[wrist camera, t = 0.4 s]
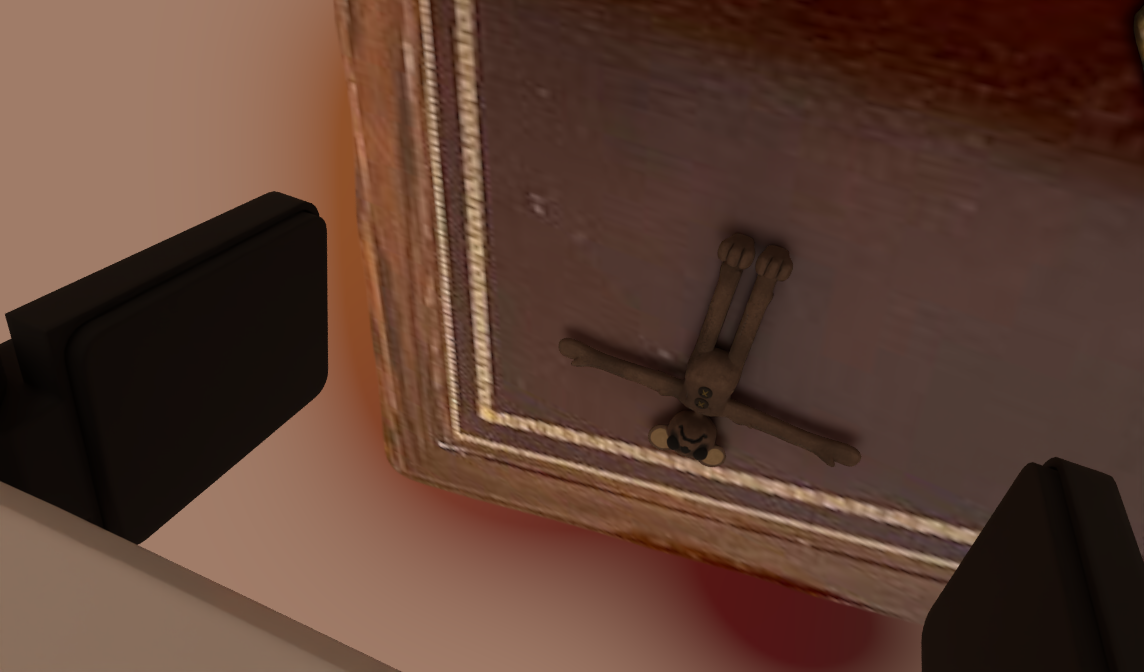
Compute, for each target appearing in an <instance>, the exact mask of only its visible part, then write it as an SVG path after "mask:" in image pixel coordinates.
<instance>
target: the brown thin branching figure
mask: <svg viewBox="0 0 1144 672" xmlns="http://www.w3.org/2000/svg"><path fill="white" fill-rule="evenodd" d="M754 244H755V243H754V240H753V239H752V238H751V237H749V236H746V235H743V234H739V233H735V234H734V235H732V236H731V237H729V238H727V239H725V240H724V241H722V242H721V244H720V246H719V249H718V258H719V259H720V260H721V261H723V263H722V265H721V269H720V277H719V281H718V284H717V287H716V290H715V293H714V296H713V298H712V301H711V303H710V306H709V310H708V313H707V316H706V318H705V321H704V324H703V327H702V330H701V333H700V335H699V338H698V341H697V344H696V347H695V349H694V351H693V353H692V355H691V357H690V359H689V362H688V366H687V370H686V372H685V380H681V379H678V378H676V377H673V376H671V375H668V374H666V373H664V372H662V371H659V370H658V371H657V370H653V369H649V368H646V367H643V366H640V365H637V364H634V363H631V362H628V361H625V360H621V359H618V358H616V357H613V356H610V355H607V354H605V353H602V352H600V351H598V350H596V349H594V348H592V347H590V346H588V345H586V344H584V343H582V342H579V341H577V340H575V339H571V338H564V339H562V340H561V341H560V342H559V351H560V353H561V354H562V355H564V356H566V357H569V358H571V359H574V361H573V362H572V363H571V364H572V365H573V366H587V367H595V368H598V369H602V370H605V371H607V372H610V373H613V374H615V375H618V376H620V377H622V378H625V379H627V380H630V381H634V382H637V383H639V384H642V385H644V386H647V387H649V388H651V389H653V390H655V391H658V393H659V394H660V395H663V396H674V397H676V398H677V399H678V400H680V402H682V403H683V404H684V405H685V406H686V407H688V408H689V409H691V410H684V411H681V412H679V413H677V414H676V415H675V416H674V417H673V418H672V420H671V421H670V423H669V425H656V426H654V427H653V428H652V429H651V430H650V432H649V434H648V440H649V442H650V443H651V445H653V446H654V447H655V448H657V449H659V450H670V449H672V450H675V451H676V452H677V453H679V454H680V455H683V456H685V457H688V458H695V459H696V460H698V461H699V462H700V463H701V464H703V465H705V466H708V467H717V466H720V465H721V464H723V463H724V461H725V458H726V454H725V451H724V449H723V448H722V447H721V446H718V445H716V444H715V439H716V435H717V429H716V427H715V425H714V423H713V422H712V421H711V419H710V418H709V417H708V416H712V417H719V416H722V417H728V418H729V419H731V420H732V421H733V422H735V423H736V424H738V425H745V426H748V427H749V428H754V429H757V430H760V431H763V432H765V433H768V434H770V435H773V436H775V437H778V438H780V439H782V440H784V441H786V442H788V443H791V444H793V445H796V446H799V447H801V448H804V449H806V450H808V451H810V452H812V453H814V454H815V455H817V456H818V457H819V458H821V459H822V460H823V461H824V462H825V463H826V464H827V465H829V466H831V467H834V466H835V463H834V461H835V462H838V463H840V464H843V465H846V466H854V465H856V464H857V463H858V462H859V461H860V459H861V454H860V452H859V451H858V450H857V449H856V448H854V447H852V446H850V445H848V444H845V443H842V442H839V441H835V440H832V439H828V438H825V437H822V436H819V435H816V434H813V433H810V432H807V431H805V430H803V429H800V428H798V427H796V426H793V425H791V424H789V423H786V422H784V421H782V420H780V419H777V418H775V417H773V416H771V415H768V414H766V413H764V412H762V411H759V410H757V409H755V408H752V407H750V406H748V405H745V404H743V403H740V402H738V401H735V400H733V399H731V398H730V395H731V394H732V393H733V392H734V390H735V387H736V385H737V384H738V382H739V380H740V377H741V374H742V369H743V366H744V363H745V361H746V358H747V356H748V353H749V350H750V348H751V345H752V343H753V341H754V338H755V335H756V333H757V330H758V327H759V325H760V323H761V320H762V318H763V315H764V312H765V310H766V308H767V306H768V304H769V303H770V301H771V300H772V298H773V289H774V287H775V284H776V282H777V280H779V281H785V280H786V279H788V277H789V276H790V274H791V272H792V269H793V263H792V260H791V258H790V256H789V251H788V250H786V249H784V248H781V247H778V246H775V245H770V246H768V247H767V248H766V249H765V250H764V252H762V253H761V254H760V255H759V257H758V259H757V261H756V266H755V269H756V272H757V274H758V277H757V279H756V282H755V285H754V287H753V290H752V293H751V295H750V298H749V301H748V303H747V306H746V309H745V311H744V314H743V317H742V320H741V322H740V325H739V328H738V330H737V333H736V336H735V338H734V341H733V344H732V346H731V349H730V352H727V351H724V350H722V349H719V348H715V344H716V341H717V338H718V336H719V333H720V330H721V328H722V325H723V322H724V320H725V317H726V314H727V311H728V309H729V306H730V303H731V301H732V298H733V295H734V293H735V290H736V287H737V285H738V282H739V279H740V277H741V274H742V271H743V269H746V268H748V267H749V266H750V265H751V264H752V262H753V260H754V257H755V248H754Z"/></svg>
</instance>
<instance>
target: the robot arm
mask: <svg viewBox="0 0 1144 672" xmlns="http://www.w3.org/2000/svg"><path fill="white" fill-rule="evenodd" d="M5 316H6V320H7V323H8V327H9V331H10V334H11V338H12V339H10V340H8V341H6V342H3V343H2V344H0V672H401V671H399V670H397V669H395V668H393V667H391V666H388V665H386V664H384V663H382V662H380V661H378V660H376V659H374V658H372V657H370V656H368V655H366V654H364V653H362V652H359V651H357V650H355V649H353V648H351V647H349V646H347V645H345V644H343V643H341V642H339V641H337V640H335V639H332V638H330V637H328V636H326V635H324V634H322V633H320V632H318V631H316V630H314V629H312V628H310V627H308V626H306V625H303V624H301V623H299V622H297V621H295V620H293V619H291V618H289V617H287V616H285V615H283V614H281V613H278V612H276V611H274V610H272V609H270V608H268V607H266V606H264V605H262V604H260V603H258V602H256V601H254V600H252V599H249V598H247V597H245V596H243V595H241V594H239V593H237V592H235V591H233V590H231V589H229V588H226V587H224V586H222V585H220V584H218V583H216V582H214V581H212V580H210V579H207V578H205V577H203V576H201V575H199V574H197V573H195V572H193V571H191V570H189V569H186V568H184V567H182V566H180V565H178V564H176V563H174V562H172V561H169V560H168V559H165V558H163V557H161V556H159V555H157V554H155V553H153V552H151V551H149V550H146V549H144V548H142V547H140V546H138V544H140V543H142V542H143V541H145V540H146V539H147V538H149V537H150V536H151V535H152V534H153V533H154V532H156V531H157V530H158V529H159V528H160V527H162V526H163V525H164V524H165V523H166V522H168V521H169V520H170V519H171V518H172V517H174V516H175V515H176V514H177V513H178V512H179V511H181V510H182V509H183V508H184V507H185V506H187V505H188V504H189V503H190V502H191V501H192V500H194V499H195V498H196V497H197V496H198V495H200V494H201V493H202V492H203V491H204V490H206V489H207V488H208V487H209V486H210V485H212V484H213V483H214V482H215V481H216V480H218V479H219V478H220V477H221V476H222V475H223V474H225V473H226V472H227V471H228V470H229V469H231V468H232V467H233V466H234V465H235V464H237V463H238V462H239V461H240V460H241V459H243V458H244V457H245V456H246V455H247V454H248V453H250V452H251V451H252V450H253V449H254V448H256V447H257V446H258V445H259V444H260V443H262V442H263V441H264V440H265V439H266V438H268V437H269V436H270V435H271V434H272V433H273V432H275V430H277V429H278V428H279V427H280V426H282V425H283V424H284V423H285V422H286V421H288V420H289V419H290V418H291V417H293V416H294V415H295V414H296V413H297V412H298V411H300V410H301V409H302V408H303V407H304V406H306V405H307V404H308V403H309V402H310V401H312V400H313V399H314V398H315V397H316V396H317V395H318V394H319V393H320V392H321V390H322V389H323V387H324V385H325V383H326V380H327V376H328V322H327V321H328V317H327V316H328V312H327V228H326V223H325V221H324V220H323V219H322V218H321V217H319V213H318V210H317V208H316V207H315V206H314V205H313V204H312V203H309V202H306V201H303V200H300V199H297V198H294V197H292V196H288V195H286V194H283V193H280V192H275V191H273V192H269V193H267V194H264V195H262V196H260V197H258V198H256V199H253V200H251V201H249V202H247V203H245V204H242V205H240V206H238V207H236V208H234V209H232V210H229V211H227V212H225V213H223V214H221V215H219V216H216V217H214V218H212V219H210V220H208V221H206V222H203V223H201V224H199V225H197V226H195V227H193V228H190V229H188V230H186V231H184V232H182V233H180V234H177V235H175V236H173V237H171V238H169V239H167V240H164V241H162V242H160V243H158V244H156V245H153V246H151V247H149V248H147V249H145V250H143V251H141V252H138V253H136V254H134V255H132V256H130V257H128V258H125V259H123V260H121V261H119V262H117V263H115V264H112V265H110V266H108V267H106V268H104V269H102V270H99V271H97V272H95V273H93V274H91V275H88V276H86V277H84V278H82V279H80V280H77V281H76V282H74V283H71V284H69V285H67V286H64V287H62V288H60V289H58V290H56V291H54V292H51V293H49V294H47V295H45V296H43V297H41V298H38V299H36V300H34V301H32V302H30V303H28V304H25V305H23V306H21V307H19V308H17V309H15V310H13V311H11V312H8V313H6V314H5ZM922 672H1144V562H1143V559H1142V557H1141V554H1140V551H1139V548H1138V545H1137V542H1136V539H1135V536H1134V534H1133V531H1132V528H1131V525H1130V522H1129V519H1128V516H1127V513H1126V511H1125V508H1124V505H1123V502H1122V499H1121V496H1120V493H1119V490H1118V488H1117V485H1116V482H1115V481H1114V479H1113V477H1111V476H1109V475H1107V474H1105V473H1102V472H1099V471H1096V470H1093V469H1090V468H1087V467H1084V466H1081V465H1078V464H1075V463H1072V462H1069V461H1066V460H1064V459H1061V458H1058V457H1054V458H1051V459H1049V460H1048V461H1047V462H1045V464H1044V465H1043V466H1042V465H1039V464H1036V463H1033V462H1032V463H1028V464H1027V465H1026V466H1025V467H1024V468H1023V469H1022V470H1021V472H1020V473H1019V475H1018V476H1017V478H1016V479H1015V481H1014V482H1013V484H1012V486H1011V487H1010V489H1009V490H1008V492H1007V493H1006V495H1005V496H1004V498H1003V499H1002V501H1001V502H1000V504H999V505H998V507H997V508H996V510H995V512H994V513H993V515H992V516H991V518H990V519H989V521H988V522H987V524H986V525H985V527H984V528H983V530H982V531H981V533H980V534H979V536H978V538H977V539H976V541H975V542H974V544H973V545H972V547H971V548H970V550H969V551H968V553H967V554H966V556H965V557H964V559H963V560H962V562H961V564H960V565H959V567H958V568H957V570H956V571H955V573H954V574H953V576H952V577H951V579H950V580H949V582H948V583H947V585H946V586H945V588H944V590H943V591H942V593H941V594H940V596H939V597H938V599H937V600H936V602H935V603H934V605H933V606H932V608H931V610H930V611H929V613H928V615H927V618H926V620H925V624H924V627H923V632H922Z"/></svg>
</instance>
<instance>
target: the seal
mask: <svg viewBox="0 0 1144 672" xmlns="http://www.w3.org/2000/svg"><path fill="white" fill-rule="evenodd" d="M1133 30H1134V35H1135V39H1136V44H1137V47H1138V51H1139V55H1140V58H1141V62H1142V65H1143V71H1144V5H1143V6H1142V7H1141V9H1140V10H1139V11H1138V12H1137V13H1136V15H1135V16H1134V28H1133Z"/></svg>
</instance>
